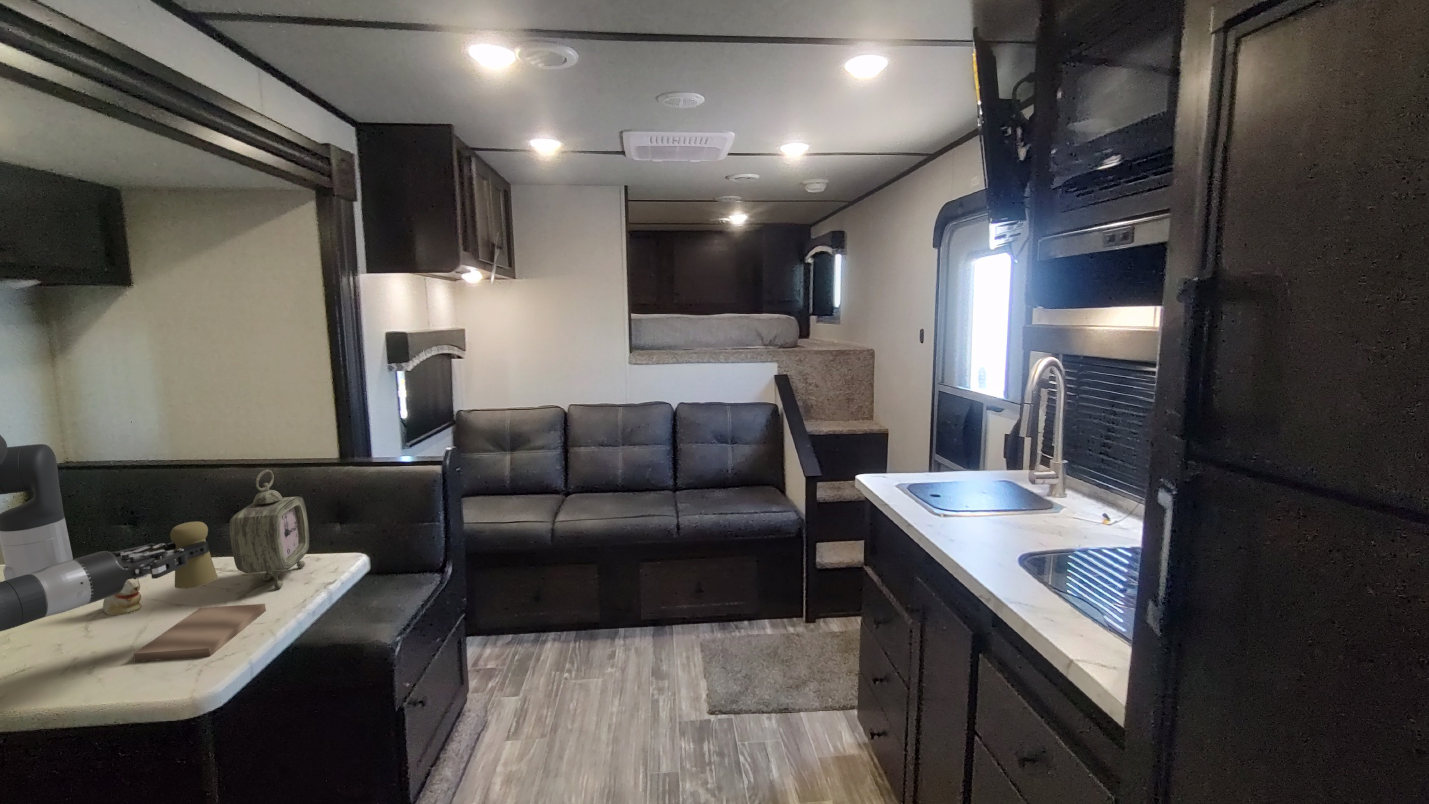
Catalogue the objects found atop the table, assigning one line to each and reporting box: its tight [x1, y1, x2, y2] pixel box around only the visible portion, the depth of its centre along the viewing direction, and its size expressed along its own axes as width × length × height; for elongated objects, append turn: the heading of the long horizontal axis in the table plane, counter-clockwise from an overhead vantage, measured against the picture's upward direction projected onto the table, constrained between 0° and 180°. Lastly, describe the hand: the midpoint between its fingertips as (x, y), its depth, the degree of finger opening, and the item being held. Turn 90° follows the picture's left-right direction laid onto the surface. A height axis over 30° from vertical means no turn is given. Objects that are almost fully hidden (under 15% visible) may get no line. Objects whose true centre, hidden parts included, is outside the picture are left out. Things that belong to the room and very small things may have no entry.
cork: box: [169, 521, 218, 590], centre depth 111 cm, size 6×6×11 cm
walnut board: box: [133, 603, 267, 662], centre depth 114 cm, size 16×12×2 cm
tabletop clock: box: [229, 469, 310, 590], centre depth 134 cm, size 14×9×25 cm, turn 12°
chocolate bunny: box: [102, 579, 142, 616], centre depth 123 cm, size 6×8×10 cm
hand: (198, 544), depth 112 cm, fingers closed on cork, 4 cm apart
